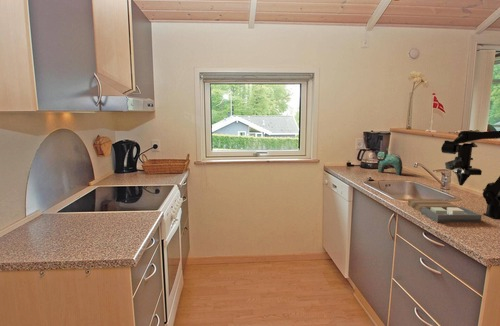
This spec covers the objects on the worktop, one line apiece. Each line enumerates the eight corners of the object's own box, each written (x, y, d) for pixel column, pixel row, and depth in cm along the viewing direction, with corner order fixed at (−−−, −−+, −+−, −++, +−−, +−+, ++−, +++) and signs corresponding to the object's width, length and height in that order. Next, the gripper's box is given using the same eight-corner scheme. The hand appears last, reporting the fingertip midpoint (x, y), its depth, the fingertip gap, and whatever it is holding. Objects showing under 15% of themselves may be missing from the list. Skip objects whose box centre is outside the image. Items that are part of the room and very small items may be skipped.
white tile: (463, 215, 147) (464, 210, 146) (452, 215, 147) (452, 210, 147) (457, 212, 152) (457, 207, 151) (446, 212, 152) (447, 207, 152)
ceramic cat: (375, 172, 261) (377, 148, 257) (379, 171, 265) (381, 147, 262) (399, 175, 246) (401, 150, 242) (403, 174, 250) (405, 149, 247)
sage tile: (446, 215, 147) (447, 210, 146) (435, 215, 147) (436, 210, 147) (440, 212, 152) (441, 207, 151) (430, 212, 152) (430, 207, 152)
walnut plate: (458, 213, 155) (459, 207, 155) (422, 213, 155) (423, 207, 154) (440, 204, 169) (441, 199, 168) (407, 205, 168) (408, 199, 168)
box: (480, 222, 142) (481, 215, 142) (437, 222, 142) (438, 215, 141) (460, 213, 155) (461, 206, 155) (421, 213, 154) (421, 206, 154)
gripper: (437, 152, 169) (434, 181, 171) (461, 158, 150) (457, 189, 153) (457, 153, 169) (454, 181, 172) (484, 158, 151) (480, 189, 153)
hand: (460, 185), depth 162 cm, fingers closed
